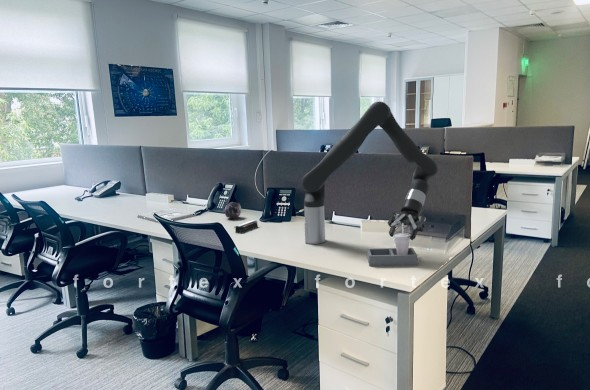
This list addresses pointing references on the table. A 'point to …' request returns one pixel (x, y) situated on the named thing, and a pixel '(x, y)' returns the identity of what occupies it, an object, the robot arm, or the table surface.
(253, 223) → the dark brown flat block
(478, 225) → the table surface
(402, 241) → the smoothie
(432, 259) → the table surface
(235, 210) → the mineral specimen
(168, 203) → the table surface
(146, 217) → the award plaque
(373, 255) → the caddy
